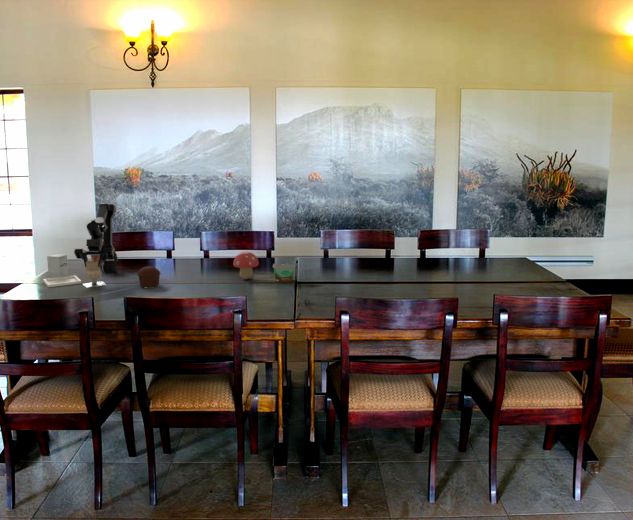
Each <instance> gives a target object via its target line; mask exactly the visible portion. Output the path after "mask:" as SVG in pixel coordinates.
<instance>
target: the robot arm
mask: <svg viewBox="0 0 633 520" xmlns="http://www.w3.org/2000/svg"><path fill="white" fill-rule="evenodd" d="M116 213H117V207H116V205H115V204H114V203H108V202H101V203H99V204H98V211H97V214H96V216H95V217H96V218H95V219H93V220H91V221H90V222H88V223H87V224H86V230H87V232H88V234H89V237H91V238H88V239H86V247H87V248H86V249H87V250H85V249H84V248H75V249H74V250H73V254H74V255H75V256H74V257H76V259H77V260H78V259H79V260H82V261H83V263H84V267H85V268H86V262H87V261H89V258H88V256H91V255H99V257H100V258H99V263H98V267H100V268H102V269H101V270H102V272H103V273H104V274H109V273H110V274H112V273H117V272H118V271H117V270H116V268H117V267H116V262H118V261H119V259H118V254H117V252H116V249H115V247H114V246H113V219H114V218H115V216H116ZM102 240H103V245H102ZM102 263H103V264H102ZM101 264H102V265H101Z"/></svg>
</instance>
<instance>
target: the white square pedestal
mask: <svg viewBox="0 0 633 520" xmlns="http://www.w3.org/2000/svg"><path fill="white" fill-rule="evenodd" d="M97 279H98V278H97ZM97 279H91V282H86V283H82V285H83V287H85V288H92V287H93V288H94V287H101V286H107V284H106V282H104V281H102V280H100V281H98V280H97Z"/></svg>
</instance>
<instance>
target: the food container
mask: <svg viewBox="0 0 633 520" xmlns="http://www.w3.org/2000/svg"><path fill="white" fill-rule="evenodd" d="M295 267H296V265H295V262H294V261H292V263H280V264H279V263H273V264H272V269H273V273H274V281H275V283H277V284H289V283H292V282H293V279H294V269H295Z"/></svg>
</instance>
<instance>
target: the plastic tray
mask: <svg viewBox="0 0 633 520" xmlns="http://www.w3.org/2000/svg"><path fill="white" fill-rule="evenodd" d="M42 282H44V283H43V284H44V286H46V287H47V288H56V287H63V286H64V287H65V286H72V285H81V284H83V282H82V280H81V279H80V278H79V277H78V276H77V275H75V274H74V275H68V276H65V277H56V278H49V277H48V278H43V279H42Z"/></svg>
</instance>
